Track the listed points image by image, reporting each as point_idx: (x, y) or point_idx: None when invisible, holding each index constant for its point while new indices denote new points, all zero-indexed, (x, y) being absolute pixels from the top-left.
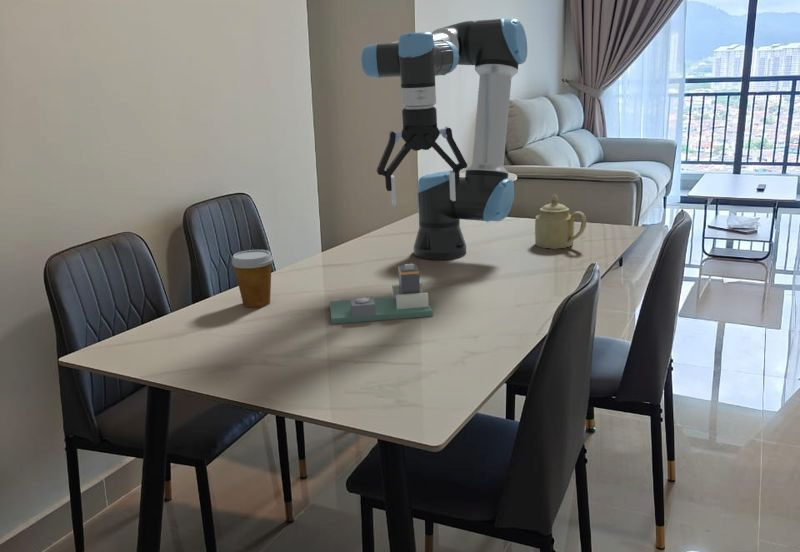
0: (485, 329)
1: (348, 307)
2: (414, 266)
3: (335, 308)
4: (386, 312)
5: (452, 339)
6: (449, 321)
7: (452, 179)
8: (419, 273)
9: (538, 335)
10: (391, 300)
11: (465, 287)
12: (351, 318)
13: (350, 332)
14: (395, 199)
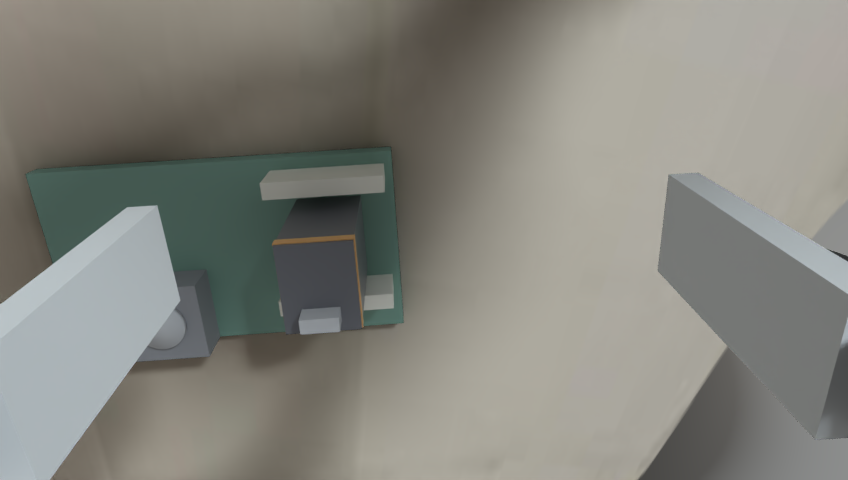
0: (529, 424)
1: None
2: (345, 275)
3: None
4: (254, 318)
5: (433, 472)
6: (445, 361)
7: (772, 381)
8: (363, 322)
9: (642, 471)
10: (266, 205)
11: (569, 28)
12: None
13: (159, 403)
14: (155, 329)
